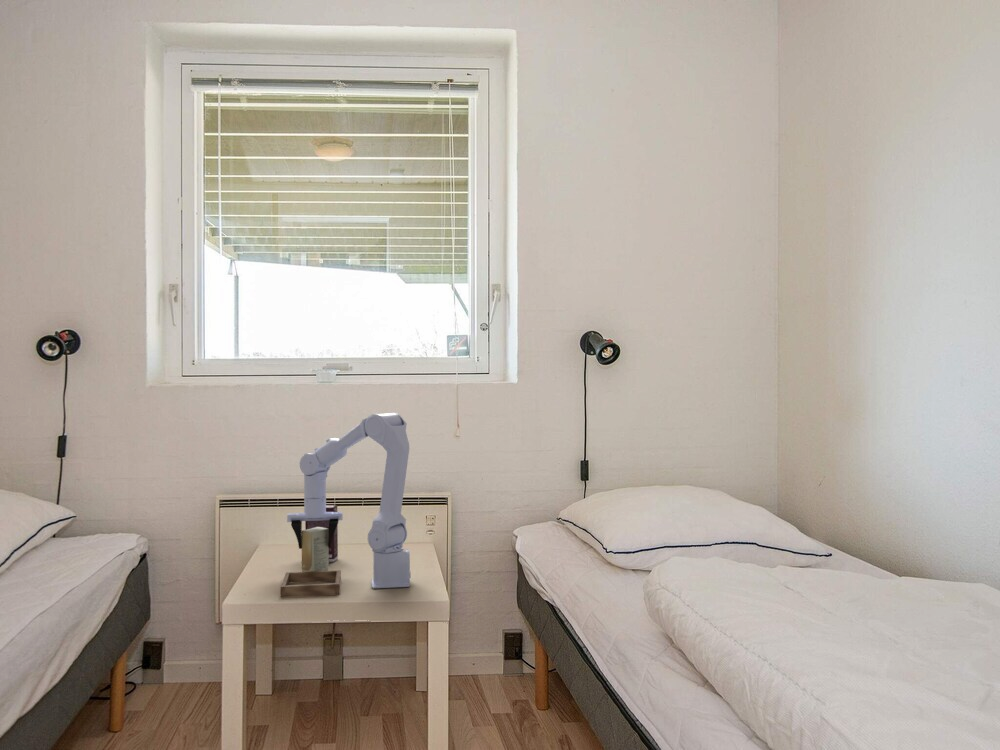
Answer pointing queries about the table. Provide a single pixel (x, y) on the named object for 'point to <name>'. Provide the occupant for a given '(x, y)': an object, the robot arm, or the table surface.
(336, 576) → the walnut box
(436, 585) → the table surface
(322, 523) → the supplement box
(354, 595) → the table surface
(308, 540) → the skincare box
